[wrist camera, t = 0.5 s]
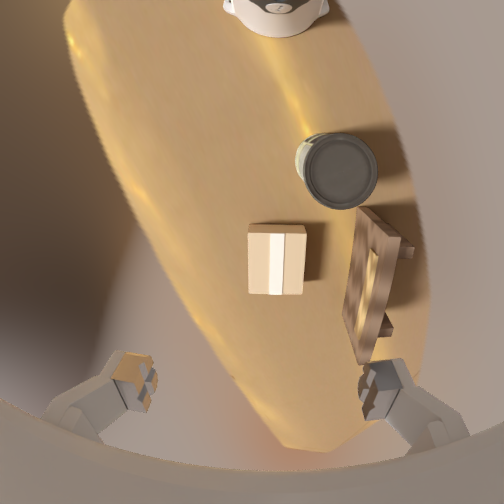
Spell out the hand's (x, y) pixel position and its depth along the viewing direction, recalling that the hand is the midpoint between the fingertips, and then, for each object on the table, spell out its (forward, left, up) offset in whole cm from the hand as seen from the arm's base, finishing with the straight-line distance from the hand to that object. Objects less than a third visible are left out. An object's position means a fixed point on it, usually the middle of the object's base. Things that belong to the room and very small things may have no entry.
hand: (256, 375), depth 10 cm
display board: (+16, +20, -44) cm, 51 cm away
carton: (+14, +2, -44) cm, 47 cm away
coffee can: (-4, +10, -44) cm, 45 cm away
